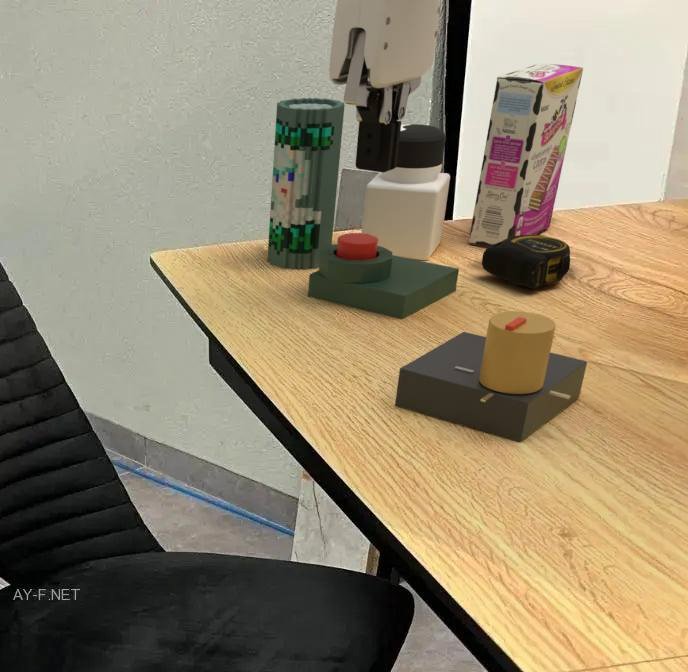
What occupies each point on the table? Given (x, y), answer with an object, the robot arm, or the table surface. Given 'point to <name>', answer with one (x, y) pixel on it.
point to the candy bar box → (524, 152)
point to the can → (304, 181)
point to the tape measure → (528, 260)
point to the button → (357, 246)
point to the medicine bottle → (410, 196)
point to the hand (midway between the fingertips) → (375, 168)
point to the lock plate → (484, 390)
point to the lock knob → (516, 352)
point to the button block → (381, 282)
